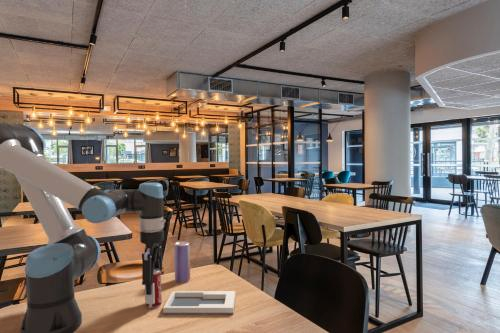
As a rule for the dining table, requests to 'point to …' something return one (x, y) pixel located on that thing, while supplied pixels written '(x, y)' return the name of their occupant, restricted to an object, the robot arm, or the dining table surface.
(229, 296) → the keyhole board
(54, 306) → the robot arm
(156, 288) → the soda can
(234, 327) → the dining table surface
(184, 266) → the beverage can
